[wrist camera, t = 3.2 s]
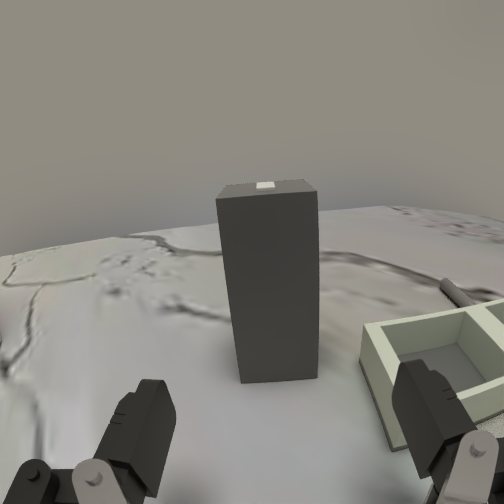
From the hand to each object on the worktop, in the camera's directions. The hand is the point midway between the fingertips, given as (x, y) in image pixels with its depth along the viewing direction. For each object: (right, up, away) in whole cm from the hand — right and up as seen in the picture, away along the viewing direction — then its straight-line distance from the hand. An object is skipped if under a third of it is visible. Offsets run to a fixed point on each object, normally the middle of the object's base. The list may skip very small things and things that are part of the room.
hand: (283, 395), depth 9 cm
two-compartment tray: (+15, -2, +10) cm, 19 cm away
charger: (+1, -3, +12) cm, 12 cm away
